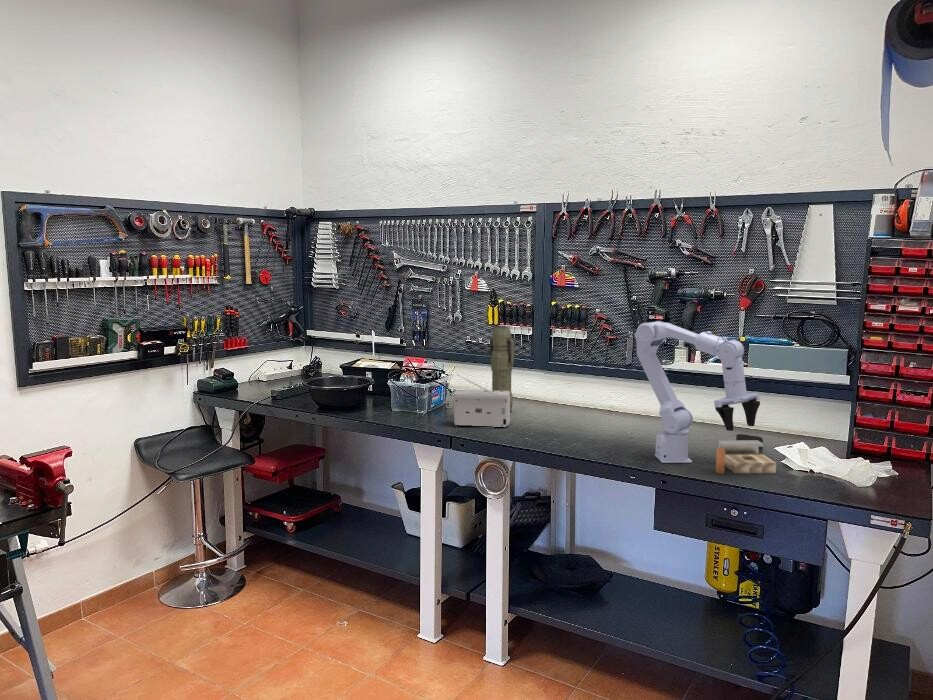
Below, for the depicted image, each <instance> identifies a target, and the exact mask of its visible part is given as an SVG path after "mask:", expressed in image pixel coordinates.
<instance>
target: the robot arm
mask: <svg viewBox="0 0 933 700" xmlns="http://www.w3.org/2000/svg"><path fill="white" fill-rule="evenodd" d="M634 338H635V340H636V356H637V358H638V360H639V362H640V364H641V367H642V368H643V371H644V373H645V375H646V377H647V379H648V381H649V384H650V385H651V387H652V390H653V392H654V394H655V397H656V399H657V401H658V404H660V407H659V411H658V414H659V417H660V422H661V427H662V428H663V430H664V431H658V432H657V433H656V436H655V454H654V457H655V458H657V459H658V461H659V462H661V464H663V463H664V464H679V463H681V464H688V463H689V464H690V463H693V460H692V459H690V458H689V457H688V456H689V439H690V438H689V437H690V430H689V427H691V426H692V423H693V421H694V416H693V414H692V412H691V411H689V409H688V408H686V406H685V404H684V402H682V401H681V400H680V399H678V398H677V396H676V394H675V391H674V389H673V387H672V385H671V383H670V381H669V379H668V377H667V375H666V373H665V371H664V368H663V366H662V364H661V361H660V359H659V358H658V355H657V352H658V349H659V347H660V345H661V344H662V343H663V342H664V340H665V339H668V338H672V339H675V340H678V341H681V342H685V343H688V344H692V345H694V347H695V349H696V350H697V351H700V352H702V353H705V354H708V355H710V356H714V357H717V358H718V360H720V361H721V370H722V376H723V384H724V393H725V397H722V398H719V399H715V400H714V401H713V403H714V409H715V411H716V412H717V413H718V415H719V416H720V418H721V420H722V421H723V424H724V427H725V429H726V431H729V432H731V431H732V432H733V431H734V419H733V418H734V417H733V416H734V410H735V407H734V406H733V405H737V404H741V406H742V408H743V411H744V414H745V420H746V425H747V427H755V424H756V417H757V413H758V410H759V407H760V406H761V402H760V393H757V392H753V393H747V384H746V377H745V371H744V363H743V357H742V356H744V354H745V346H744V345H743V343H742V342H740V341H738V340H737V339H736V338H735V339H729V340H728V337H726V336H722V337H721V336H718V335H714V334H713V332H712V331H710V330H707V331H702V332H700V333H696V332H693V331H691V330H688V329H686V328H683V327H680V326H678V325H675V324H672V323H671V322H664V321H661V320H656V321H652V322H642V323H641V324H639V326H638V327H637V328H636V330H635V333H634ZM732 406H733V407H732Z"/></svg>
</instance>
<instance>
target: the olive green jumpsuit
mask: <svg viewBox="0 0 933 700" xmlns="http://www.w3.org/2000/svg"><path fill="white" fill-rule="evenodd" d="M489 361H490V369H491V373H492V374H491V377H492V378H491V381H492V382H491V383H492V384H491V391H509V392H510V411H512V412H513V405H514V404H513V401H514V400H513V396H514V395H513V394H512V371H513V367H514V364H515V341H514V339H513V338H512V332H511V328H510V327H508V326H507V325H497V326H496V327H495V326H494V328H493V331H492V337H491V338H490V339H489Z"/></svg>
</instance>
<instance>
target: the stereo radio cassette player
mask: <svg viewBox="0 0 933 700" xmlns="http://www.w3.org/2000/svg"><path fill="white" fill-rule="evenodd" d="M456 376H457V377H460V378H461V379H464V380H466V381H467V382H468V383H471V384H473V385H475V386H477V387H479V388H480V389H482V390H479V389H477V390H475V389H474V390H473V389H457V390H454V393H453V422H454V423H453V424H454V425H455V426H456V425H472V426H493V427H492V428H494V427H506V426H507V427H508V426H509V425H510V422H511V412H510V392H509V391H492V390H488V389H487V388H485V387H483V386H482V385H479V384H478V383H476V382H473V381H471V380H470V379H467V378H465V377H463V376H461V375H459V374H457V375H456ZM507 427H506V428H507Z"/></svg>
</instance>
